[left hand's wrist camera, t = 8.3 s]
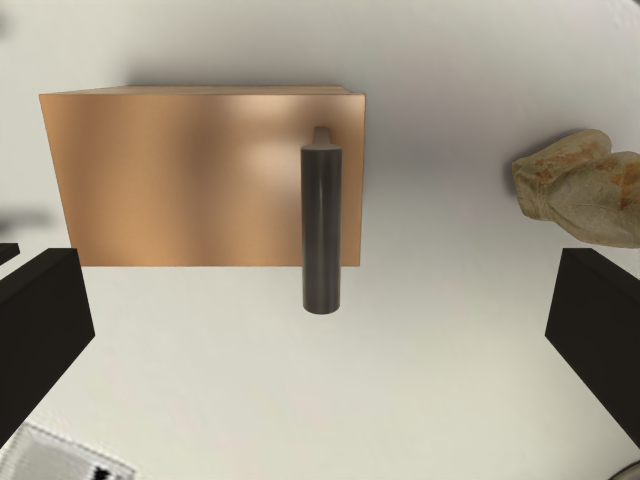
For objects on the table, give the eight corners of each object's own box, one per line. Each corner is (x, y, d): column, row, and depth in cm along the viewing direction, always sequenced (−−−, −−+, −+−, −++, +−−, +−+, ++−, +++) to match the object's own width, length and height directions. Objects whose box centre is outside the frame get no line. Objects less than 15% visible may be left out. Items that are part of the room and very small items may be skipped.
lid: (363, 93, 23) (388, 107, 15) (358, 258, 26) (375, 345, 18) (50, 92, 23) (-100, 107, 15) (85, 258, 26) (-22, 346, 18)
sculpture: (602, 189, 34) (799, 274, 20) (508, 218, 35) (634, 319, 21) (593, 114, 32) (805, 151, 18) (494, 147, 33) (622, 206, 19)
